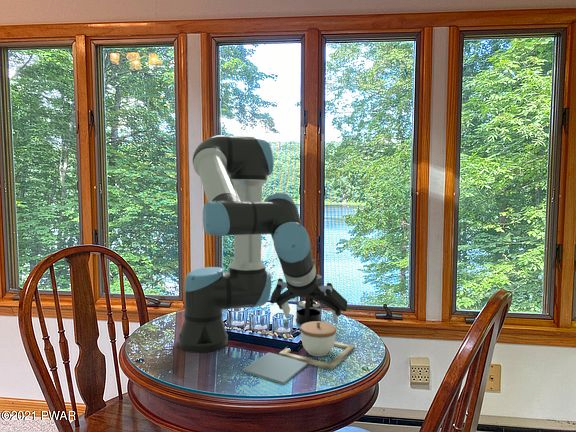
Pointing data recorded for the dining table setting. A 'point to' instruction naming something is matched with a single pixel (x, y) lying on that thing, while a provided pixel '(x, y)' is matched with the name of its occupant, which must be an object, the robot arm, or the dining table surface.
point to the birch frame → (317, 363)
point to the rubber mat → (275, 367)
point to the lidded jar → (318, 337)
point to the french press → (308, 309)
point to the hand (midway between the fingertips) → (311, 316)
